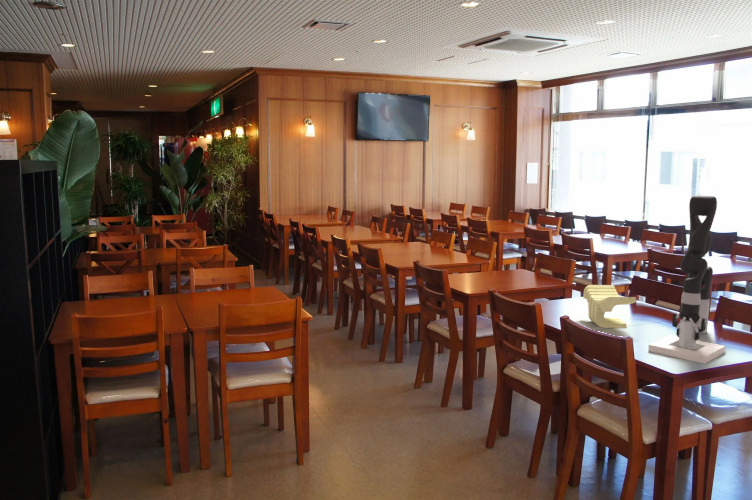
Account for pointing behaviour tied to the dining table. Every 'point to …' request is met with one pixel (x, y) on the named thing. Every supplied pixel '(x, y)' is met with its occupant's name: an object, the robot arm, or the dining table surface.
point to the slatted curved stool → (605, 304)
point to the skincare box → (687, 334)
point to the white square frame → (701, 355)
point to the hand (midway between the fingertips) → (687, 338)
